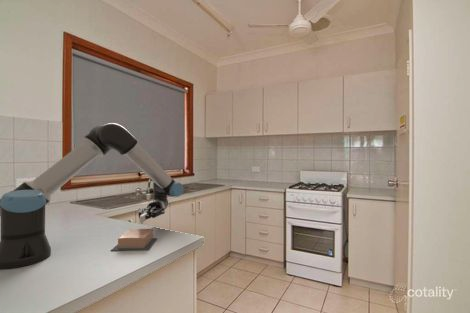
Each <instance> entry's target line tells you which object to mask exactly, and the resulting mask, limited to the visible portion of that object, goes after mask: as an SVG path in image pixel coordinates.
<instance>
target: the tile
mask: <svg viewBox="0 0 470 313" xmlns="http://www.w3.org/2000/svg"><path fill="white" fill-rule="evenodd" d="M152 238H154V228H129V229H128V230H127V231H125V232H124V233H123V234H122V235H120V236H119V237H118V238H117V244H118V249H122V248H145V247H146V246H147V244H148V243H149V242H150V241H151V240H152Z"/></svg>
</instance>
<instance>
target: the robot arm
mask: <svg viewBox="0 0 470 313" xmlns="http://www.w3.org/2000/svg"><path fill="white" fill-rule="evenodd" d="M111 150H114V151H115V152H117V153H119V154H120V155H121V156H125V157H126V158H128V159H129V160H130V162H132V163H133V164H134V165H135V166H136V167H137V168H138V169H140V170H141V171H142V172H143V173H144V174H145V175H146V176H147V177H148V178H149V179H151V180H152V181H153V183H152V187H153V189H152V191H153V194H152V195H153V198H152V201H151V202H150V203H148V204H147V206H146V207H145V208H144V209H143V208H140V207H139V208H138V219H139V224H140V223H141V224H142V223H144V222H145V221H147V220H149V219H151V218H152V219H154V218H158V217H159V216H161V215H164V214H165V213H166V212H165V210H166V209H167V208H168V206H169V200H168V196H169V197H173V198H174V197H175V198H176V197H180V196H181V195H182V194H183V193H184V186H183V183H181V182H178V181H175V179H173V177H171V176H170V175H169V173H168V172H167V171H165V170H164V169H163V167H161V166H160V165H159V164H158V162H156V161H155V159H153V157H151V156H150V155H149V153H147V152H146V150H144V149H143V147H141V146H140V144H139V140H138V139H137V138H136V137H135V135H133V134H132V133H130V131H128V129H126V128H125V127H124V126H122V125H120V124H119V123H116V122H115V123H114V122H112V123H111V122H109V123H105V124H100V125H96V126H95V127H93V128H92V129H91V130H90V131H89V132H88V134H86V135H85V136H83V137H82V142H81V143H80V144H78V146H76V147H75V148H74V149H72V150H71V151H70V152H69V153H67V154H65V155H64V156H63V157H62V158H61V159H59V160H58V161H57V162H56V163H54V164H53V165H51V167H49V168H47V170H45V171H43V173H41V174H40V175H38V176H37V177H36V178H35V179H33V180H31V181H23V183H21V184H20V185H19V186H17V187H16V188H15V189H13V190H11V191H8V192H6V193H3V194H2V196H1V197H0V270H1V269H3V270H6V269H15V268H21V267H26V266H29V265H33V264H36V263H40V262H42V261H43V260H45V259H47V258H49V257H50V256H51V254H52V248H51V245H50V243H49V241H48V240H49V239H48V237H47V235H46V205H47V204H49V203H50V202H51V197H52V195H54V193H56V191H58V190H59V189H60V188H61V187H62V186H63V187H64V185H66V183H68V182H69V181H70V180H71V179H73V177H75V176H76V175H77V174H78V173H80V172H81V171H82V170H83V169H84V168H85V167H86V166H88V165H89V164H90V163H92V161H94V160H95V159H96V158H98V157H103V156H105V155H106V154H107V153H109V152H110V151H111Z"/></svg>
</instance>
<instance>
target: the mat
mask: <svg viewBox="0 0 470 313" xmlns="http://www.w3.org/2000/svg"><path fill="white" fill-rule="evenodd" d="M157 240H158V238H156V237H153V238H152V240H151V241H150V242H149V243H148V244H147V246H146V247H145V248H122V249H118V243H117V244H116V245H115V246H114V247H113V248H111V249H110V252H127V251H128V252H129V251H131V252H132V251H134V252H135V251H136V252H137V251H150V249H151V248H152V246H154V244H155V242H157Z"/></svg>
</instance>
